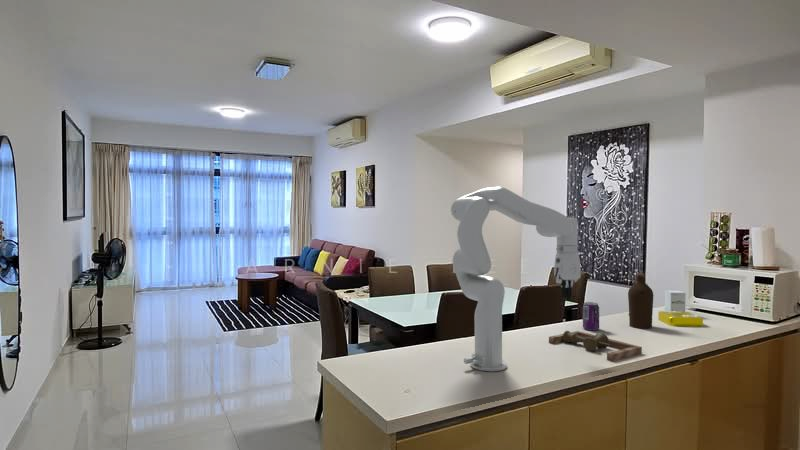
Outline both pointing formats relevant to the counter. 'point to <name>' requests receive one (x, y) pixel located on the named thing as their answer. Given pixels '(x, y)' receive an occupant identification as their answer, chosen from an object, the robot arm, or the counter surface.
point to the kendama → (587, 340)
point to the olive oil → (640, 304)
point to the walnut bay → (624, 351)
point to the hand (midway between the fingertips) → (566, 297)
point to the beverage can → (591, 316)
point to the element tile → (680, 319)
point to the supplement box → (674, 301)
